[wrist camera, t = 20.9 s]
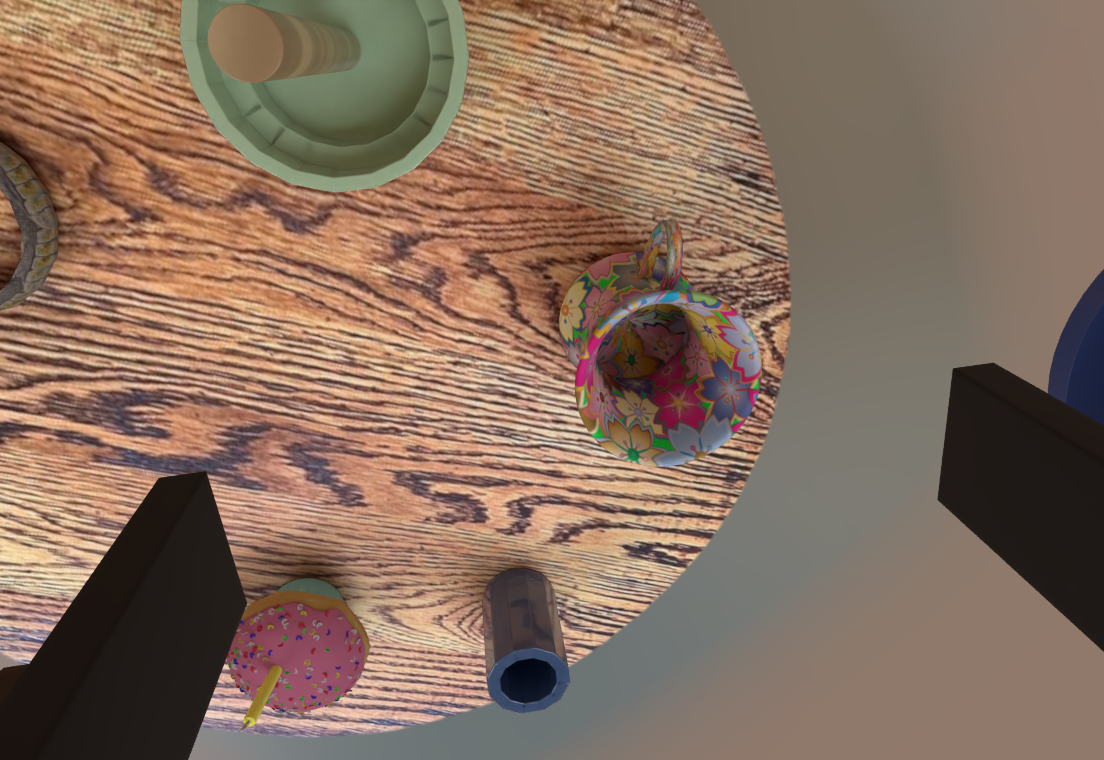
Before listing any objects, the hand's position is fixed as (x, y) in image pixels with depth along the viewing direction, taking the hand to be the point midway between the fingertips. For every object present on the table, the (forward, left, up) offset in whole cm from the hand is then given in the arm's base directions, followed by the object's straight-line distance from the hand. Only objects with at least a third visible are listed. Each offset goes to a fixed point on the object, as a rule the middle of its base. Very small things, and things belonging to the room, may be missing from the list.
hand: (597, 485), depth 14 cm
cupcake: (+16, +26, -33) cm, 45 cm away
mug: (-7, +7, -33) cm, 34 cm away
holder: (+2, +28, -33) cm, 43 cm away
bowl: (+7, -8, -33) cm, 34 cm away
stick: (+7, -8, -32) cm, 34 cm away
